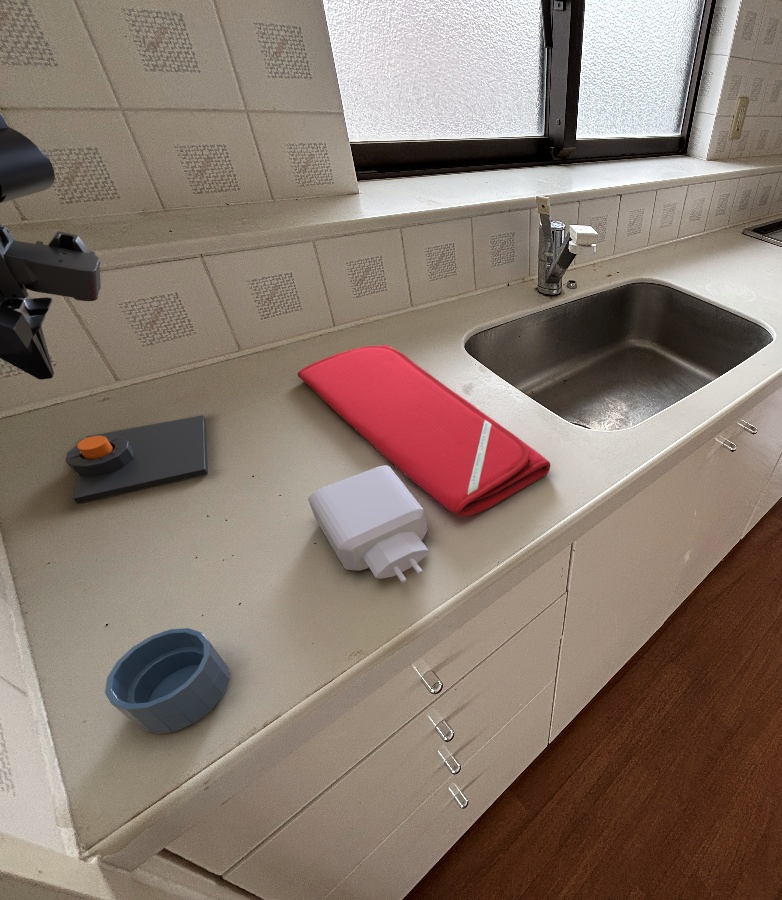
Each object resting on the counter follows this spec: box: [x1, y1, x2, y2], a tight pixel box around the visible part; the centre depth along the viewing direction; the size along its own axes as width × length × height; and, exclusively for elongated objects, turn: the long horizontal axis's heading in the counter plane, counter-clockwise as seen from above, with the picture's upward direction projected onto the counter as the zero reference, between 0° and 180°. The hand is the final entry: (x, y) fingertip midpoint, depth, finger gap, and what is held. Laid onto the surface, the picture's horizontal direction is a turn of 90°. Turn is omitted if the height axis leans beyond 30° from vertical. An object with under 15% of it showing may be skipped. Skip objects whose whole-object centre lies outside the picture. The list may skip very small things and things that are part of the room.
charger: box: [307, 465, 430, 583], centre depth 54 cm, size 5×9×15 cm
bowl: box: [104, 627, 230, 735], centre depth 40 cm, size 6×6×5 cm
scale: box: [64, 414, 209, 505], centre depth 61 cm, size 12×12×2 cm
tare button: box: [76, 435, 113, 459], centre depth 58 cm, size 3×3×2 cm
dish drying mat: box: [296, 344, 551, 517], centre depth 71 cm, size 16×41×4 cm, turn 48°
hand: (47, 377), depth 52 cm, fingers closed
